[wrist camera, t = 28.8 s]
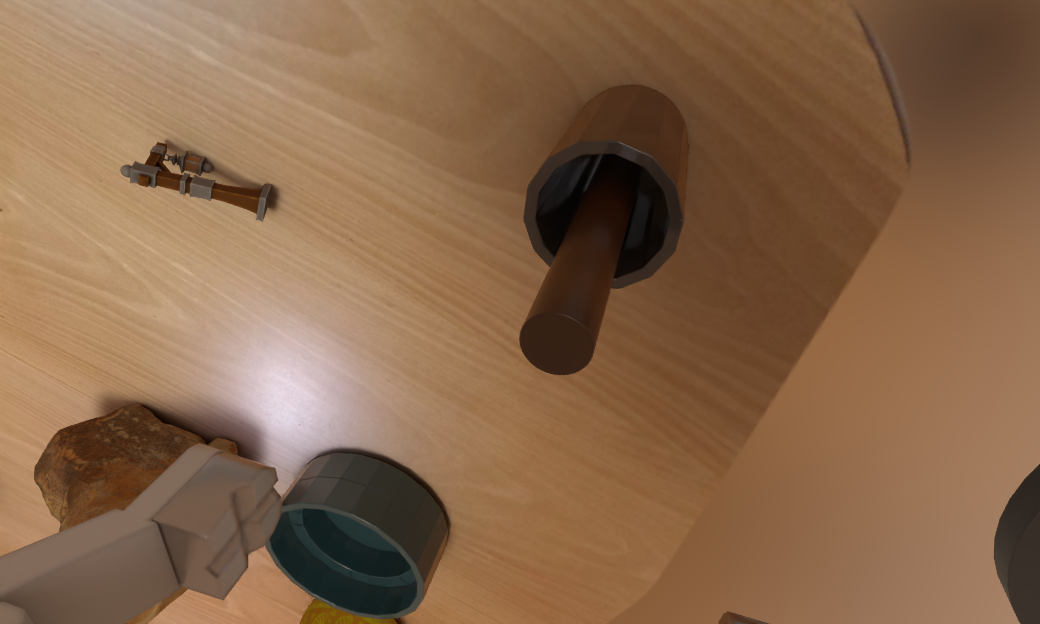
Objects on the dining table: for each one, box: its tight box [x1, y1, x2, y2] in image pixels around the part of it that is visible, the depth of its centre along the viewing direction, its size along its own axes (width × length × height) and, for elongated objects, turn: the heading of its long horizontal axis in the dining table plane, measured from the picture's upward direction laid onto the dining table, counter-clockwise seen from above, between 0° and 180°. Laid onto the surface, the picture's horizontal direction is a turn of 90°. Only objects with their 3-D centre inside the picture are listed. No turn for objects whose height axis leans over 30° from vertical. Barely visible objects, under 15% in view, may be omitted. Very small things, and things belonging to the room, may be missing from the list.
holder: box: [523, 85, 689, 289], centre depth 27 cm, size 6×6×10 cm
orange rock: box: [34, 404, 238, 624], centre depth 51 cm, size 23×17×15 cm
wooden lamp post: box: [120, 142, 271, 222], centre depth 37 cm, size 2×8×4 cm, turn 67°
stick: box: [519, 154, 643, 375], centre depth 23 cm, size 2×2×18 cm
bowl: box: [265, 453, 448, 619], centre depth 51 cm, size 14×14×6 cm
